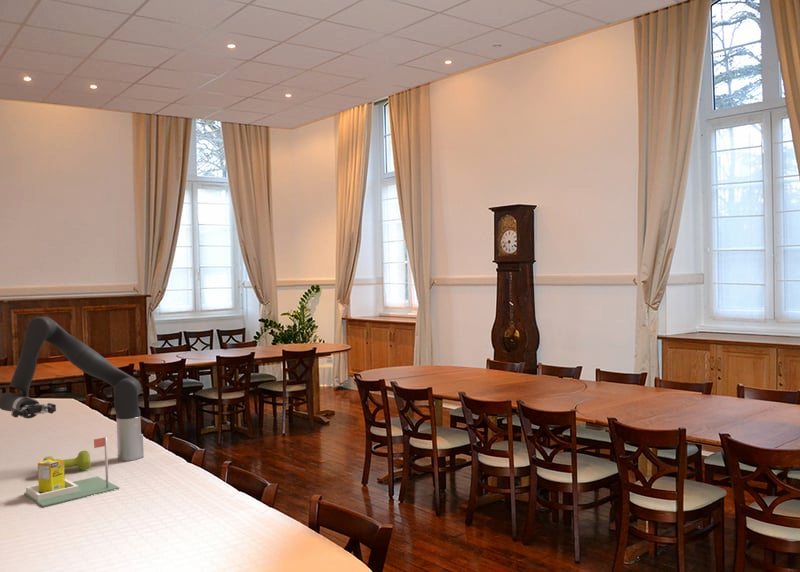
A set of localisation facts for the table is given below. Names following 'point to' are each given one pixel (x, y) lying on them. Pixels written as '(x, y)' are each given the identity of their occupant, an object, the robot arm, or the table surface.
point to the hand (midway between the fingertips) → (39, 412)
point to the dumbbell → (76, 461)
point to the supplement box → (51, 475)
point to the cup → (74, 486)
